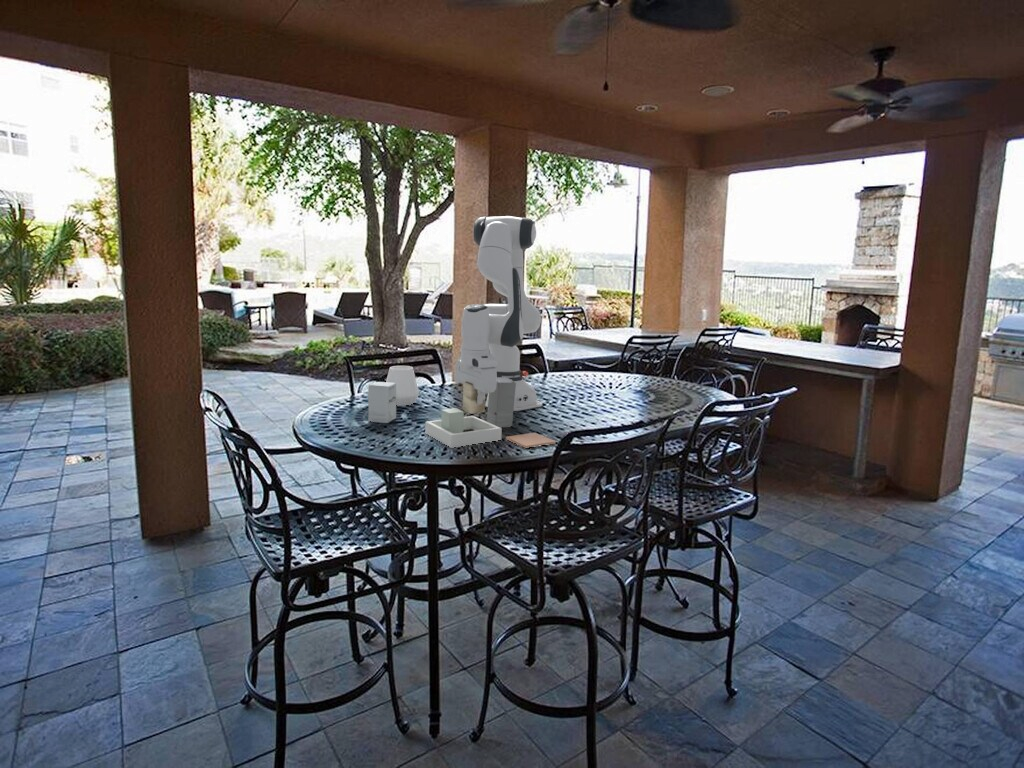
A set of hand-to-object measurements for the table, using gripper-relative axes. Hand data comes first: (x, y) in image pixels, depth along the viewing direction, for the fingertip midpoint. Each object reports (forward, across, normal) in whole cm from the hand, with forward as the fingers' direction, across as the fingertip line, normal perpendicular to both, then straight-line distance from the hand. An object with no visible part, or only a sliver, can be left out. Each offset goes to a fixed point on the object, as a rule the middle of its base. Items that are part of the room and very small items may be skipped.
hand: (474, 401), depth 195 cm
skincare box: (+12, -7, +15) cm, 20 cm away
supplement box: (+12, -30, -18) cm, 37 cm away
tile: (+11, +15, +12) cm, 22 cm away
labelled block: (+3, 0, 0) cm, 3 cm away
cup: (+12, -51, -2) cm, 53 cm away
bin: (+11, +1, -4) cm, 12 cm away
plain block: (+11, +1, -8) cm, 14 cm away
